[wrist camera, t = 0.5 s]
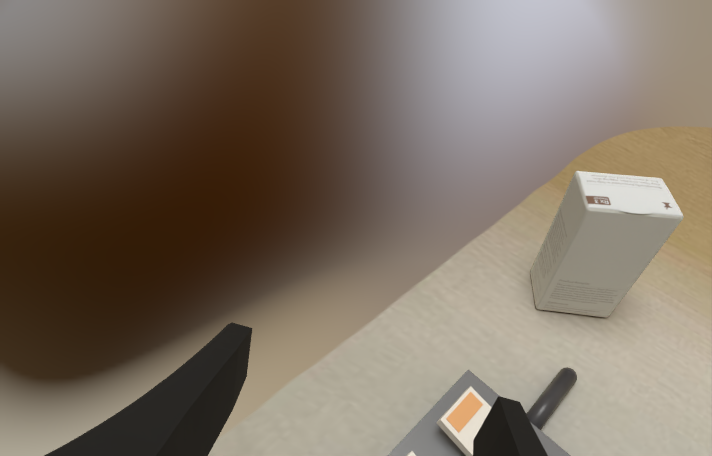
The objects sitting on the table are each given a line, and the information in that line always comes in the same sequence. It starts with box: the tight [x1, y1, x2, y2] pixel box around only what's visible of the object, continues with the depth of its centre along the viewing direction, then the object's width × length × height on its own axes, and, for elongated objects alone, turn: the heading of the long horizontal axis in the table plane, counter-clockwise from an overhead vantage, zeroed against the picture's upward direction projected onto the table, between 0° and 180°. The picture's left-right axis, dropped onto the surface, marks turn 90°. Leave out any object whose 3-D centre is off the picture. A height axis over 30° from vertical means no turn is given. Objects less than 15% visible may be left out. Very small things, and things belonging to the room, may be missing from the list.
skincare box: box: [530, 171, 683, 317], centre depth 33 cm, size 6×4×12 cm
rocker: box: [436, 386, 491, 456], centre depth 26 cm, size 3×5×1 cm, turn 43°
